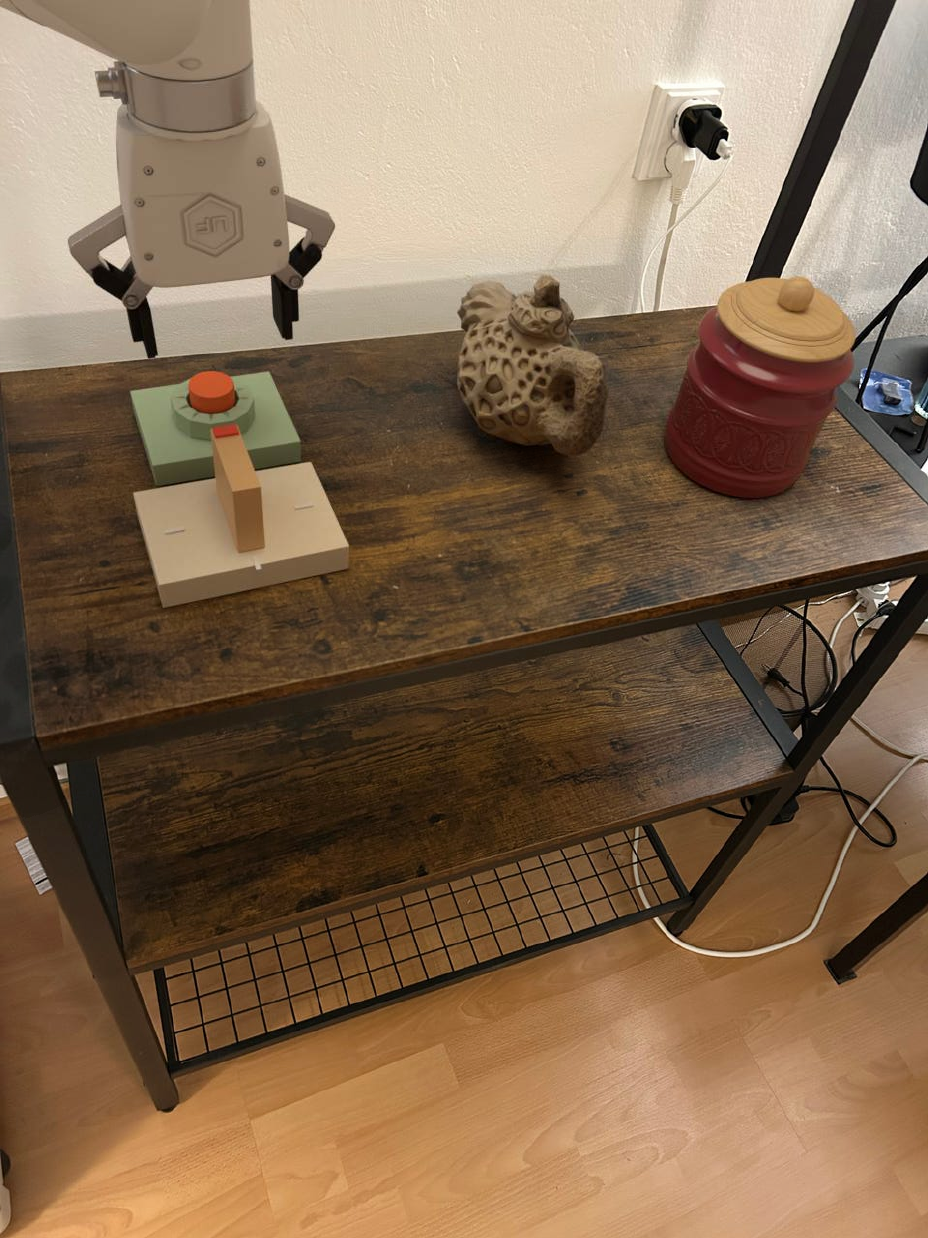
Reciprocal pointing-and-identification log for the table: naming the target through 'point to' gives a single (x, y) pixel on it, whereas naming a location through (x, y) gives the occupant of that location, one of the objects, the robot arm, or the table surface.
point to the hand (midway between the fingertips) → (217, 337)
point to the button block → (185, 436)
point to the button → (211, 392)
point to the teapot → (529, 368)
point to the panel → (205, 549)
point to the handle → (238, 487)
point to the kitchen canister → (759, 386)
